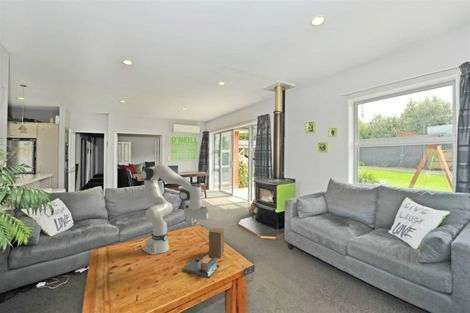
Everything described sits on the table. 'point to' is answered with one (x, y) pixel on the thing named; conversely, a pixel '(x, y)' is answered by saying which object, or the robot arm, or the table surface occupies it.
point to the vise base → (195, 270)
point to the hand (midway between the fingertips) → (196, 224)
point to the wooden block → (216, 242)
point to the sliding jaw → (201, 263)
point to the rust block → (205, 263)
